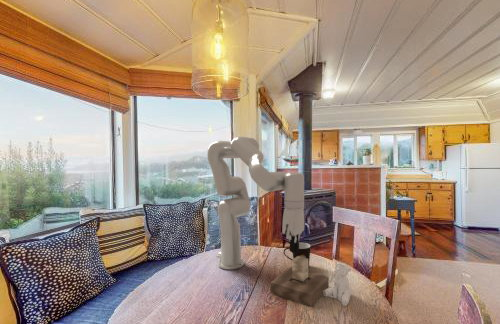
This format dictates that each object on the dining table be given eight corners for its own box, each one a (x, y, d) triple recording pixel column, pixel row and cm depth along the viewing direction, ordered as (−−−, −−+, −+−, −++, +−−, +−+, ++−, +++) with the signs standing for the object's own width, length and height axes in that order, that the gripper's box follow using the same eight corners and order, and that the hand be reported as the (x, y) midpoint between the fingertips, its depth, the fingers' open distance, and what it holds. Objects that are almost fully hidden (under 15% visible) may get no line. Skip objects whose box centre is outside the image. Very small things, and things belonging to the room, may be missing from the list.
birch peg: (292, 290, 92) (292, 259, 92) (297, 285, 96) (297, 256, 96) (303, 294, 89) (303, 262, 89) (308, 289, 93) (308, 258, 93)
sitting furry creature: (321, 295, 88) (320, 262, 88) (335, 287, 93) (334, 256, 94) (345, 307, 81) (344, 270, 81) (359, 298, 86) (358, 263, 86)
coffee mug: (313, 265, 114) (313, 244, 114) (307, 272, 107) (306, 249, 107) (290, 261, 120) (289, 240, 121) (283, 267, 113) (282, 245, 113)
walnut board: (270, 293, 91) (270, 282, 91) (291, 276, 104) (290, 267, 104) (311, 307, 81) (311, 294, 81) (328, 287, 94) (328, 276, 94)
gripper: (294, 201, 104) (294, 244, 104) (275, 206, 92) (275, 255, 92) (311, 202, 99) (311, 248, 99) (293, 208, 87) (293, 260, 88)
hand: (294, 251), depth 96 cm, fingers closed
